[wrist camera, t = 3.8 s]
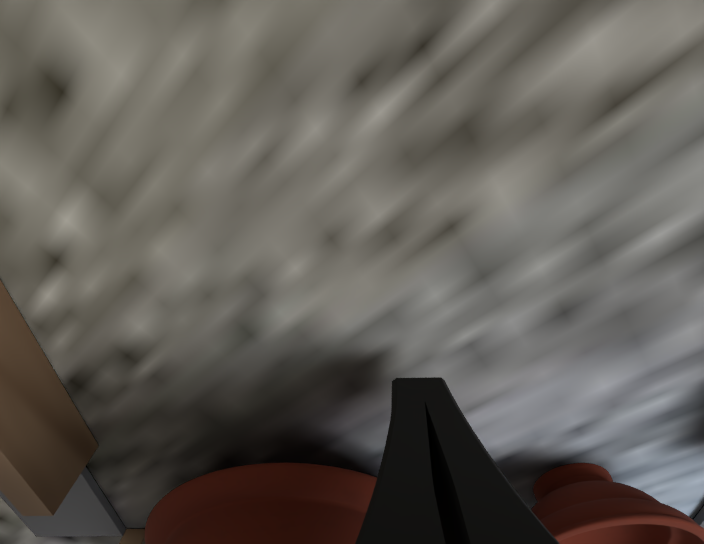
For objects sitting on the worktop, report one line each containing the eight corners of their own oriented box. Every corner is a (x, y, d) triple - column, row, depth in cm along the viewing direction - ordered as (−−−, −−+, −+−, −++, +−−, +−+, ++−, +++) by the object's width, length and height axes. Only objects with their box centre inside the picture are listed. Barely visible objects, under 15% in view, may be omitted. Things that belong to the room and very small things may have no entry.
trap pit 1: (72, 446, 15) (67, 453, 14) (126, 528, 18) (122, 536, 17) (-30, 447, 15) (-37, 454, 14) (40, 529, 18) (36, 536, 17)
